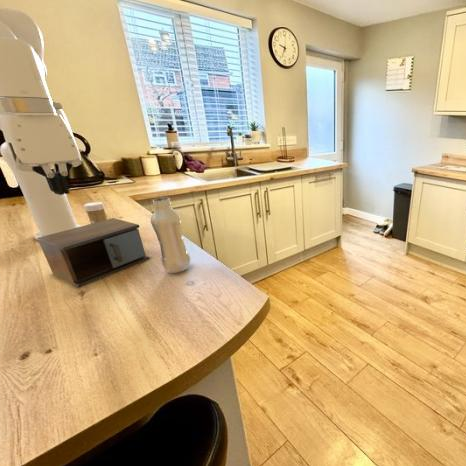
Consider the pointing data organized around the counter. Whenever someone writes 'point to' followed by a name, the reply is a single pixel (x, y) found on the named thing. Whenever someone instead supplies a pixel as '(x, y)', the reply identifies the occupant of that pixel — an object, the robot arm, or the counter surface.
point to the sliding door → (124, 247)
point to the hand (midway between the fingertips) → (62, 193)
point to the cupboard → (84, 251)
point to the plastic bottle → (169, 236)
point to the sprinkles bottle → (95, 212)
